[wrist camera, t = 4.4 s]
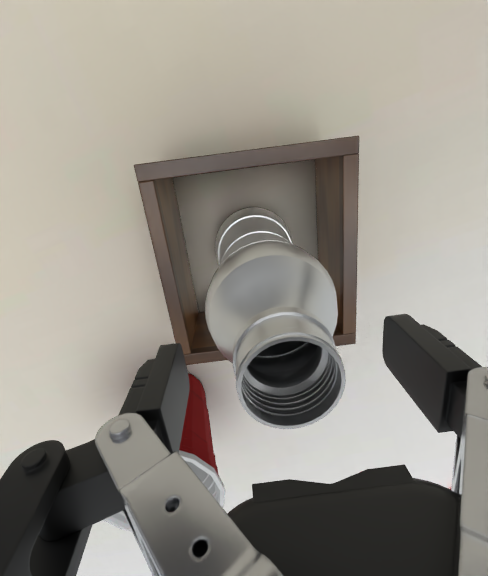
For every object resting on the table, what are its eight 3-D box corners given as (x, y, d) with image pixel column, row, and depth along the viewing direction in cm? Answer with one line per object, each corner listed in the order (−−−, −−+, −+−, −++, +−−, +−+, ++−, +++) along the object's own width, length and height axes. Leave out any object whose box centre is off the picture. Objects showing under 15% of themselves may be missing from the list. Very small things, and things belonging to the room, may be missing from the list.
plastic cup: (121, 421, 36) (73, 538, 25) (135, 342, 32) (85, 438, 21) (214, 437, 37) (208, 554, 26) (237, 363, 34) (242, 463, 22)
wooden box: (158, 163, 26) (133, 164, 19) (325, 142, 26) (359, 135, 19) (191, 321, 31) (180, 366, 25) (328, 304, 31) (355, 344, 25)
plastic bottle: (220, 278, 30) (205, 470, 11) (211, 206, 27) (173, 301, 9) (288, 272, 30) (382, 452, 11) (285, 199, 27) (401, 279, 9)
